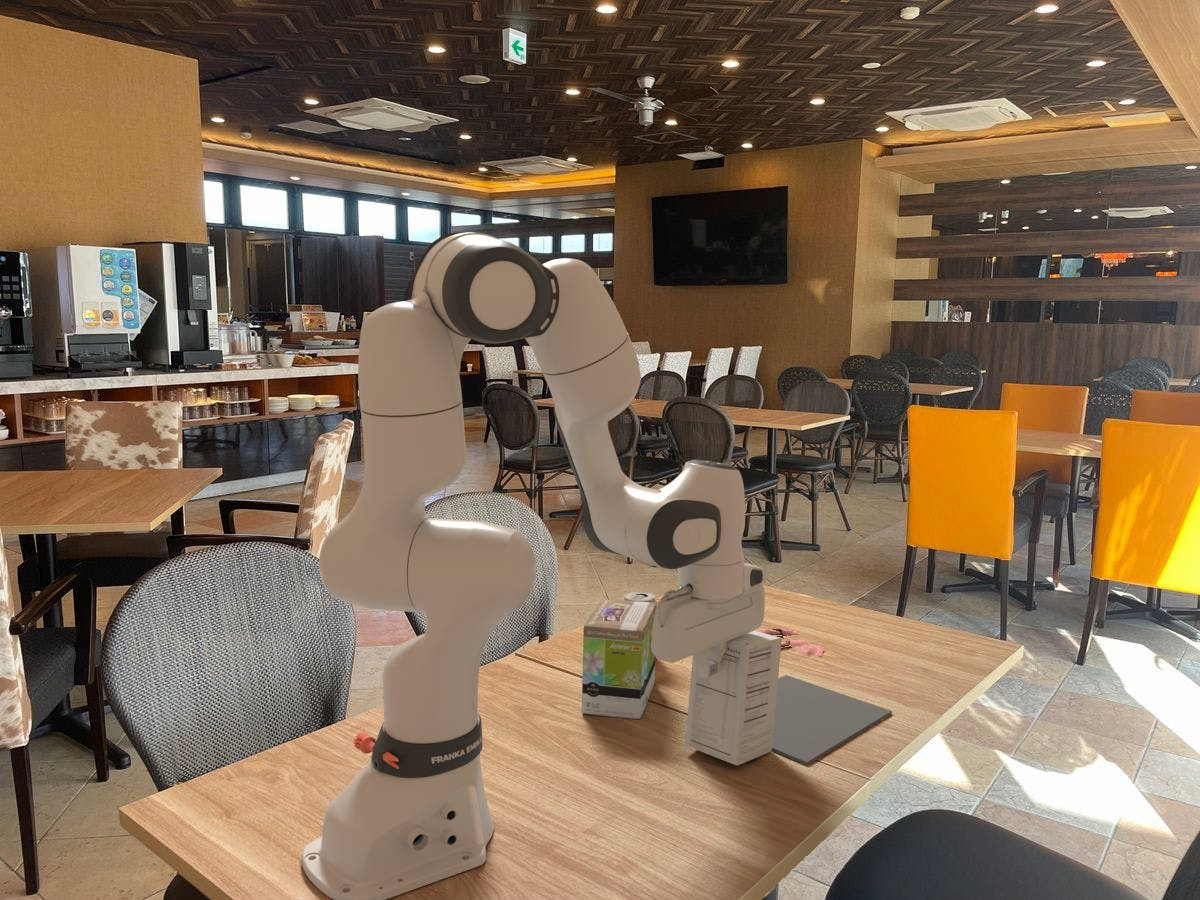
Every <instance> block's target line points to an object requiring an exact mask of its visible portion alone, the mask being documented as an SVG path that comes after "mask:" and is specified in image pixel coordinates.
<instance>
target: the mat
mask: <svg viewBox="0 0 1200 900" xmlns="http://www.w3.org/2000/svg"><path fill="white" fill-rule="evenodd" d="M892 714H893V711H892V710H891V709H888V708H886V707H882V706H879V705H876V704H873V703H870V702H867V701H864V700H861V699H858V698H856V697H852V696H849V695H847V694H844V693H840V692H837V691H834V690H831V689H829V688H825V687H822V686H820V685H817V684H813V683H811V682H808V681H805V680H802V679H800V678H796V677H794V676H791V675H787V674H785V675H783V676H781V677H778V686H777V697H776V708H775V719H774V731H773V743H772V752H773V753H776V754H777V755H780V756H783V757H786V758H787V759H790V760H792V761H794V762H795V761H796V762H798V763H799V764H802V765H804V766H809V765H810V764H812V763H813V762H815V761H816V760H819V759H820V758H821V757H823V756H825V755H826V754H828V753H830V752H831V751H833V750H835V749H837V748H838V747H840V746H842V745H843V744H845V743H846V742H847V741H848V742H849V740H851V739H853V738H854V737H856V736H858V735H859V734H861V733H863V732H865V731H866V730H868V729H869V728H872V726H874V725H876V724H878V723H879V722H881V721H882V720H884V719H886V718H887V717H889V716H891V715H892Z"/></svg>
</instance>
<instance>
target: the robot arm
mask: <svg viewBox="0 0 1200 900" xmlns="http://www.w3.org/2000/svg"><path fill="white" fill-rule="evenodd" d="M418 259H419V260H418V262H417V265H416V267H415V268H414V272H413V274H412V276H411V278H410V281H409V282H408V284H407V287H406V289H405V291H404V293H403V300H404V301H396V302H392V303H391V302H390V303H387V304H384V305H383V306H380V307H378V308H377V309H375V310H374V311H372V312H371V313H370V314H369V315H367V317H365V320H364V321H363V322H362V326H361V328H360V335H359V344H358V345H359V347H358V362H357V364H358V365H357V366H358V367H357V370H358V373H357V376H358V377H357V378H358V379H357V380H358V398H359V408H360V415H361V426H362V428H361V429H362V438H363V439H362V441H363V454H364V457H363V458H364V471H363V472H364V476H363V483H362V487H361V490H360V493H359V495H358V499H357V500H356V502H355V504H354V506H353V507H352V510H351V511H350V512H349V513H348V514H347V515H346V516H345V517H344V518H343V519H341V520H340V521H339V522H338V523H337V524H335V525H334V526H333V527H332V528H331V530H329V532H328V533H327V535H326V536H325V538H324V540H323V543H322V545H321V547H320V552H319V556H318V557H319V558H318V569H319V575H320V579H321V581H322V583H323V586H324V588H325V590H327V592H328V594H329V595H330V596H331V597H332V598H334V599H337V600H340V601H343V602H346V603H349V604H351V605H355V606H359V607H363V608H366V609H369V610H383V611H396V612H409V613H411V612H412V613H420V614H421V615H422V614H424V616H425V620H426V621H425V622H426V624H425V625H426V626H425V632H424V633H422V634H420V635H417V636H415V637H413V638H411V639H408V640H406V641H405V642H403V643H402V644H400V645H398V646H397V647H396V648H395V649H394V650H392V652H391V653H390V654H389V656H388V657H387V659H386V661H385V663H384V666H383V669H382V673H381V674H382V697H383V698H382V699H383V702H382V703H383V723H382V724H381V726H380V730H379V732H378V736H377V737H376V738H374V736H370V735H369V733H367V732H365V731H362V732H359V733H357V734H356V736H355V738H354V739H353V741H354V742H353V747H355V749H357V750H359V751H360V752H361V753H362V754H365V755H366V754H367V755H368V754H370V753H372V754H371V759H370V760H369V761H368V762H367V764H366V765H365V766H364V767H363V768H362V769H361V770H359V772H358V773H357V774H356V775H355V777H354V778H353V779H351V780H350V781H349V783H348V784H347V785H346V786H345V787H344V788H343V789H342V790H341V791H340V792H339V794H337V795H336V796H335V797H334V798H333V799H332V801H330V802H329V804H328V806H327V808H326V811H325V814H324V818H323V823H322V830H321V831H322V832H321V836H320V837H318V838H316V839H314V840H313V841H311V842H309V843H308V844H306V845H305V846H304V847H303V850H302V857H301V858H302V859H301V861H302V862H301V863H302V869H303V872H304V873H305V876H306V877H307V878H308V879H309V880H310V882H311V883H312V884H313V885H314V886H315V887H316V888H317V889H318V890H320V892H321V893H323V894H324V895H326V896H327V897H329V898H330V899H332V900H387V899H391V898H393V897H396V896H399V895H402V894H404V893H407V892H410V891H413V890H417V889H419V888H421V887H424V886H426V885H429V884H430V885H431V884H433V883H435V882H439V881H441V880H444V879H446V878H449V877H453V876H455V875H458V874H460V873H463V872H466V871H469V870H472V869H474V868H477V867H480V866H482V865H484V863H485V862H486V860H487V850H486V847H487V845H488V843H489V841H490V840H491V838H492V836H493V833H494V828H495V826H494V825H495V824H494V820H493V817H492V815H491V812H490V809H489V805H488V801H487V795H486V791H485V786H484V781H483V773H482V766H481V765H482V764H481V752H482V750H483V745H484V744H483V725H482V717H481V715H480V714H479V706H478V705H479V679H480V678H479V675H480V665H481V664H480V663H481V659H482V654H483V651H484V649H485V646H486V644H487V642H488V641H489V638H490V636H491V635H492V633H493V632H494V631H495V629H496V628H497V627H498V626H499V625H500V624H501V623H502V622H503V621H504V620H505V619H506V618H508V617H509V616H510V615H512V614H514V613H515V612H517V610H518V609H520V608H521V607H522V606H523V605H524V604H525V602H526V601H527V600H528V598H529V597H530V594H531V592H532V590H533V588H534V585H535V582H536V577H537V560H536V556H535V553H534V549H533V547H532V545H531V544H530V543H531V542H530V541H529V540H528V538H527V537H526V535H525V534H524V533H523V532H522V531H521V530H518V529H515V528H512V527H508V526H506V525H501V524H496V523H495V522H493V523H492V522H489V521H485V520H471V519H470V520H468V519H467V520H466V519H454V518H453V519H451V518H450V519H449V518H435V517H429V516H428V514H427V511H426V503H425V502H426V499H427V498H429V497H431V496H433V495H435V494H437V493H439V492H441V491H443V490H445V489H447V488H449V486H451V485H453V484H454V483H455V482H456V481H458V479H459V477H460V476H461V475H462V473H463V471H464V469H465V467H466V462H467V458H468V457H467V444H466V432H465V431H466V430H465V418H464V417H465V416H464V408H463V394H462V385H461V379H460V372H461V362H462V358H463V355H464V351H465V350H466V347H467V346H468V344H469V342H470V341H471V340H473V341H476V342H479V343H483V344H494V345H495V344H503V343H509V342H514V341H519V340H524V339H525V341H526V342H527V344H528V345H529V347H531V349H532V351H533V355H534V356H535V359H536V361H537V364H538V366H539V368H540V370H541V373H542V375H543V376H544V380H545V381H546V384H547V386H548V388H549V391H550V394H551V397H552V401H553V415H554V419H555V424H556V426H557V430H558V433H559V436H560V438H561V439H560V440H561V441H562V445H563V447H564V450H565V453H566V456H567V460H568V462H569V464H570V467H571V469H572V473H573V476H574V478H575V479H574V480H575V482H576V484H577V487H578V491H579V494H580V501H581V513H582V522H583V524H582V525H583V528H584V532H585V534H586V536H587V538H588V540H589V541H590V542H591V544H592V545H593V546H594V547H595V548H597V549H598V550H601V551H603V552H607V553H611V554H614V555H615V554H616V555H620V556H624V557H627V558H630V559H633V560H635V561H638V562H641V563H645V564H648V565H650V566H651V565H652V566H654V567H657V568H661V569H665V570H667V569H668V570H677V569H678V570H677V572H678V573H677V575H678V576H677V588H675V589H669V590H667V591H665V592H664V594H663V596H662V597H661V598H660V600H659V601H658V602H657V609H656V611H655V616H654V622H653V630H652V640H651V650H652V652H653V654H654V655H655V657H656V658H657V659H659V660H662V661H665V662H668V663H669V664H673V663H676V662H679V661H681V660H683V659H686V658H688V657H691V656H692V658H693V657H694V659H695V661H696V663H697V673H698V675H699V676H700V677H703V678H707V677H710V676H712V675H714V674H717V673H719V672H720V661H721V660H722V658H723V655H724V653H725V650H726V648H727V641H729V640H732V639H734V638H737V637H739V636H742V635H744V634H747V633H749V632H752V631H754V630H757V629H759V628H760V626H761V624H763V623H764V619H765V611H766V610H765V609H766V608H765V607H766V591H765V587H764V585H763V584H764V583H765V582H766V580H767V571H766V570H767V569H766V568H764V567H760V566H757V565H754V564H752V563H748V562H745V553H744V550H743V546H742V545H743V544H742V538H743V534H744V531H745V527H746V499H745V496H746V495H745V487H744V479H743V477H742V474H741V472H740V470H739V469H738V468H736V467H735V466H733V465H731V464H728V463H721V462H716V461H712V460H703V459H691V460H688V461H686V462H685V463H684V466H683V469H682V471H681V472H680V473H679V474H678V475H677V476H676V477H675V478H674V479H673V480H671V482H669V483H668V484H666V485H664V486H663V487H661V488H660V487H659V488H658V489H655V488H651V487H647V486H644V485H643V486H642V485H640V484H639V483H636V481H633V480H632V479H630V477H628V476H627V475H626V474H625V473H624V472H623V470H622V467H621V465H620V462H619V459H618V455H617V453H616V449H615V446H614V443H613V439H612V437H611V433H610V431H609V421H611V420H612V419H614V418H615V417H617V416H618V415H619V414H621V413H622V412H623V411H625V410H626V409H627V408H628V407H629V406H630V405H631V404H632V402H633V400H634V399H635V397H636V395H637V393H638V391H639V388H640V385H641V381H642V374H641V368H640V363H639V359H638V355H637V352H636V349H635V347H634V344H633V342H632V340H631V338H630V336H629V333H628V331H627V328H626V326H625V323H624V321H623V319H622V316H621V315H620V312H619V311H618V309H617V307H616V305H615V303H614V301H613V299H612V298H611V296H610V293H608V290H607V288H606V287H605V286H604V284H603V282H602V281H601V280H600V279H601V278H599V277H598V275H597V273H596V272H595V270H594V269H593V268H592V267H591V266H590V265H589V264H587V263H586V262H585V261H583V260H580V259H576V258H568V257H565V258H564V257H562V258H557V259H551V260H549V261H546V262H544V263H541V262H540V261H539V260H537V259H536V258H535V257H533V256H532V255H531V254H530V253H529V252H527V251H526V250H525V249H523V248H522V247H520V246H518V245H517V244H514V243H512V242H510V241H506V240H504V239H503V240H502V239H500V238H498V237H496V236H494V235H491V234H488V233H485V232H473V231H472V232H471V231H469V232H464V231H458V232H457V231H456V232H450V233H447V234H445V235H442V236H440V237H438V238H437V239H435V240H434V241H432V242H431V243H430V244H429V245H428V246H427V247H426V248H425V250H424V252H423V253H422V254H421V256H420V257H419V258H418ZM707 655H708V658H707Z"/></svg>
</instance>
